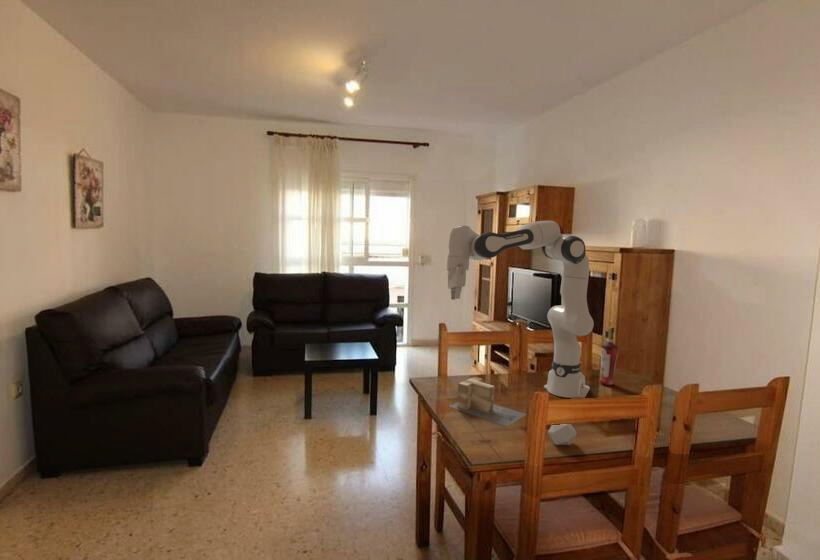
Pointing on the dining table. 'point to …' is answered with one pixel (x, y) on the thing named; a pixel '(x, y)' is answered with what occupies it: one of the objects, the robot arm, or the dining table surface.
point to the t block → (475, 395)
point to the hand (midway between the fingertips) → (455, 299)
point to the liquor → (608, 359)
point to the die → (562, 434)
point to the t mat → (495, 414)
